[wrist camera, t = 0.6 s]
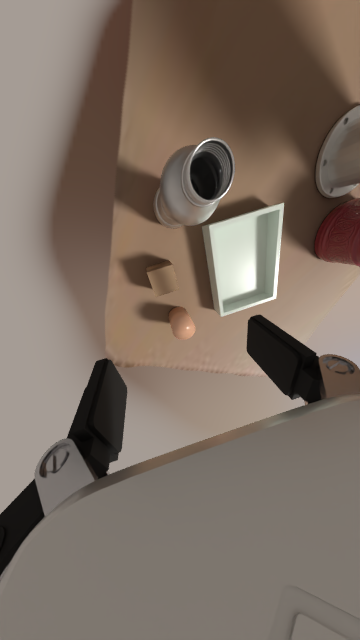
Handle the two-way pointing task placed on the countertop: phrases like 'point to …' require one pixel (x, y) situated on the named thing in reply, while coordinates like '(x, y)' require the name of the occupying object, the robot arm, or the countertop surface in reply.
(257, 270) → the box
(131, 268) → the countertop surface
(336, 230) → the canister
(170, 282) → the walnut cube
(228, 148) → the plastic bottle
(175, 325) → the tan rounded-top part
